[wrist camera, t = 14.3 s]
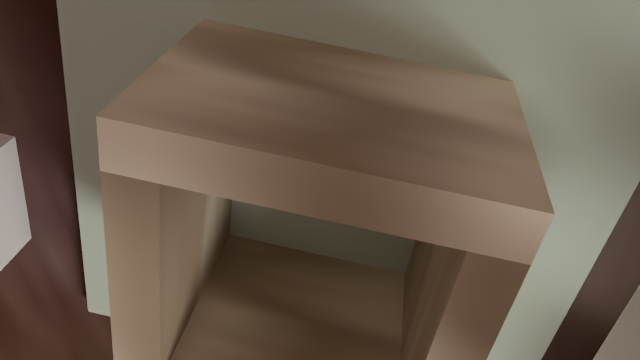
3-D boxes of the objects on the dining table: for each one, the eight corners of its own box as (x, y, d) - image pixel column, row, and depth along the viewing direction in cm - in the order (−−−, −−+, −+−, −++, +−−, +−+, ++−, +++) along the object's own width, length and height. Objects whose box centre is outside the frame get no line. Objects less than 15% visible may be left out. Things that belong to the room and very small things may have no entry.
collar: (194, 253, 17) (116, 398, 13) (203, 18, 13) (95, 116, 9) (431, 307, 16) (432, 474, 12) (513, 81, 13) (555, 214, 8)
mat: (94, 302, 19) (88, 311, 19) (47, -192, 12) (36, -192, 11) (511, 399, 19) (513, 409, 18) (758, -59, 11) (769, -55, 11)
